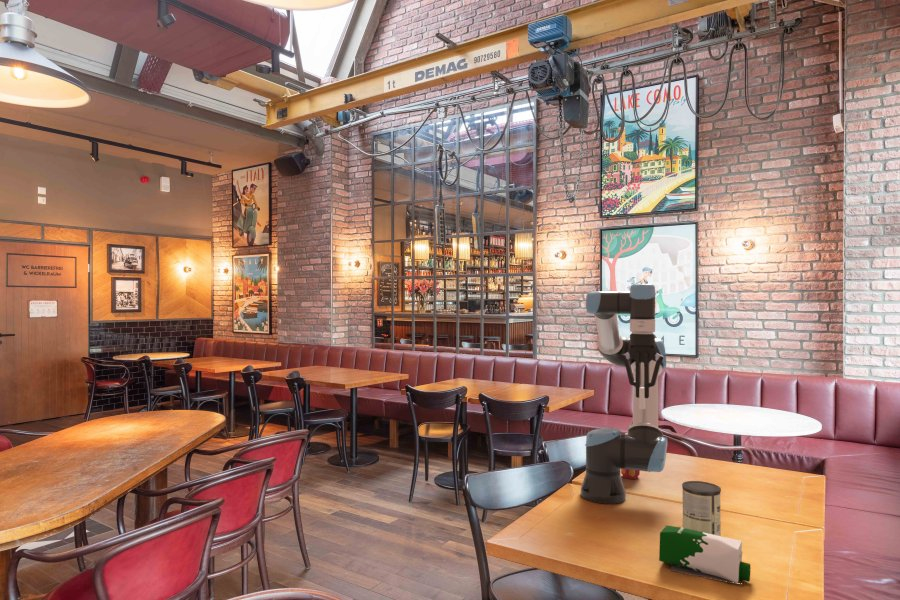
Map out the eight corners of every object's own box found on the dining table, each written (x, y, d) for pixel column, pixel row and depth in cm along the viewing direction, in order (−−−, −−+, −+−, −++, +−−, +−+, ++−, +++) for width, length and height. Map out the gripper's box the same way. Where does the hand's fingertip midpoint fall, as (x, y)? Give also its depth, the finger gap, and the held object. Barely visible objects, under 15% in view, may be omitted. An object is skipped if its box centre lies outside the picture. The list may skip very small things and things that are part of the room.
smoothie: (642, 475, 218) (642, 424, 218) (640, 481, 210) (640, 428, 211) (620, 472, 221) (620, 422, 222) (617, 478, 214) (617, 426, 214)
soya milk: (658, 565, 140) (747, 589, 129) (659, 529, 140) (748, 549, 129) (666, 554, 147) (751, 576, 136) (667, 520, 148) (752, 539, 136)
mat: (670, 570, 139) (670, 569, 139) (674, 552, 149) (674, 550, 149) (742, 585, 131) (742, 584, 131) (741, 564, 142) (741, 563, 142)
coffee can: (680, 525, 167) (680, 479, 168) (718, 530, 164) (718, 482, 164) (683, 539, 158) (683, 489, 158) (723, 544, 154) (723, 493, 155)
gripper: (619, 333, 173) (618, 408, 173) (663, 334, 168) (663, 412, 167) (623, 332, 180) (622, 404, 180) (665, 333, 174) (665, 408, 174)
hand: (642, 408), depth 173 cm, fingers closed
